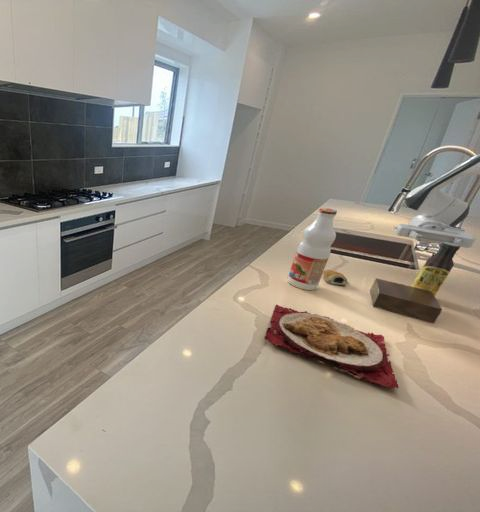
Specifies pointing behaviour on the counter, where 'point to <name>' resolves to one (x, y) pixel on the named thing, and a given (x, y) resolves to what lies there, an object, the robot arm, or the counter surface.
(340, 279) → the pastry
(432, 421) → the counter surface
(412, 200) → the robot arm
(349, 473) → the counter surface
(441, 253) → the sauce bottle
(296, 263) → the fruit juice
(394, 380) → the plate with food
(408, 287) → the riser
